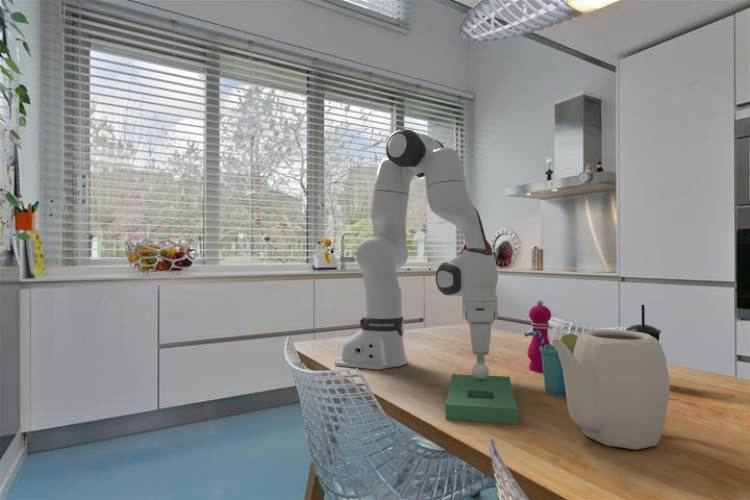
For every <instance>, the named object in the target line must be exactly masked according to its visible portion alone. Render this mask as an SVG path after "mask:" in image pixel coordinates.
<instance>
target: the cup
mask: <svg viewBox="0 0 750 500" xmlns="http://www.w3.org/2000/svg"><path fill="white" fill-rule="evenodd" d="M536 334H538V335H539V338H540V340H541V343H542V346H540V352H541V355H542V365H543V372H542V374H543V381H544V383H543V384H544V390H545V393H546V394H549V395H553V396H562V397H563V396H566V389H565V382H564V375H563V369H562V365H561V362H560V358H559V355H558V352H557V350H556V349H555V347H554V346H553V344H551V345H546V344H545V342H544V339H543V336H542V334H541V333H540V332H539V331H533V330H532V331H529V332H527V333H524V336H525V337H526V338H527V337H530V336H531V337H533V335H536ZM578 336H579V335H576V334H574V333H571V332H568V333H567V334H564V335H562V336H561V339H560V340H561V341H562V342H563V343H564V344H565V345H566V346H567V348H568V349H569V350H570V351H571V353H572V354H573V352H574V349H575V345H576V341H577V337H578Z"/></svg>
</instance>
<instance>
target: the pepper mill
mask: <svg viewBox="0 0 750 500" xmlns="http://www.w3.org/2000/svg"><path fill="white" fill-rule="evenodd" d="M528 317H529V319H530V320H531V322H530V324H531V325H530V327H531V328H532V332H533V331H539V332H540V333H541V334H542V336H543V339H544V342H545V344H546V345H552V343H551V341H550V339H549V334H548V333H549V332H548V331H549V329H550V322H549V321H550V320H551V318H552V312H551V310H550V309H549V307H547V306H544V302H543V300H541V299H538V300H537V301H536V305H535V306H532V307H531V308H530V309H529V313H528ZM531 337H532V338H531V341H530V343H529V346H528V348H527V353H526V354H527V355H526V356H527V357H528V359H529V360H530V362H529V363H528V364H529V365H528V367H529V370H530V371H532V372H537V373H543V365H542V355H541V352H540V346H542V343H541V340H540V338H539V335H538V334H536V335H532V336H531Z"/></svg>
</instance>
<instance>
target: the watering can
mask: <svg viewBox="0 0 750 500" xmlns="http://www.w3.org/2000/svg"><path fill="white" fill-rule="evenodd" d="M577 336H578V337H577V341H576V345H575V349H574V352H573V354H572V353H571V351H570V350H569V349H568V348H567V346H566V345H565V344H564V343H563V342H562V341H561V339H560V338H555V339H552V340H550V343H551V345H553V346H554V347H555V349H556V350H557V352H558V355H559V358H560V362H561V365H562V369H563V375H564V382H565V389H566V395H565V397H566V402H567V403H566V404H567V410H568V415H569V416H570V418H571V420H572V421H573V422H574V424H575V425H576V426H578V427H579V428H581V431H582V433H583V435H584V436H585V437H588V438H589V439H592V440H594V441H596V442H597V443H600V444H603V445H604V446H607V447H613V448H614V447H616V448H623V449H629V450H634V451H635V450H640V449H641V450H642V449H645V448H646V449H647V448H650V447H654V446H657V445H658V444H659V441H660V438H661V436H662V432H663V429H664V427H665V424H666V417H667V410H668V404H669V397H670V387H671V386H670V385H671V384H670V373H669V369H668V364H667V358H666V356H665V353H664V350H663V345H661V344H660V342H659V341H660V340H659V341H658V340H657V339H656V338H654V337H652V336H650V335H648V334H645V333H641V332H634V331H627V330H626V329H608V328H607V329H604V328H603V329H601V328H599V329H588V330H585V331H583V332H582V333H579V334H578V335H577Z"/></svg>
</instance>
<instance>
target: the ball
mask: <svg viewBox="0 0 750 500" xmlns="http://www.w3.org/2000/svg"><path fill="white" fill-rule="evenodd" d="M489 371H490V370H489V367H488V366H487V365H486V364H485V363H484V364H483V363H477V362H476V363H475V364H474V365H473V366H472V369H471V373H472V374H471V375H473V376H474V377H475V378H476V379H479V380H483V379H485V378H487V376H489V373H490V372H489Z"/></svg>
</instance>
